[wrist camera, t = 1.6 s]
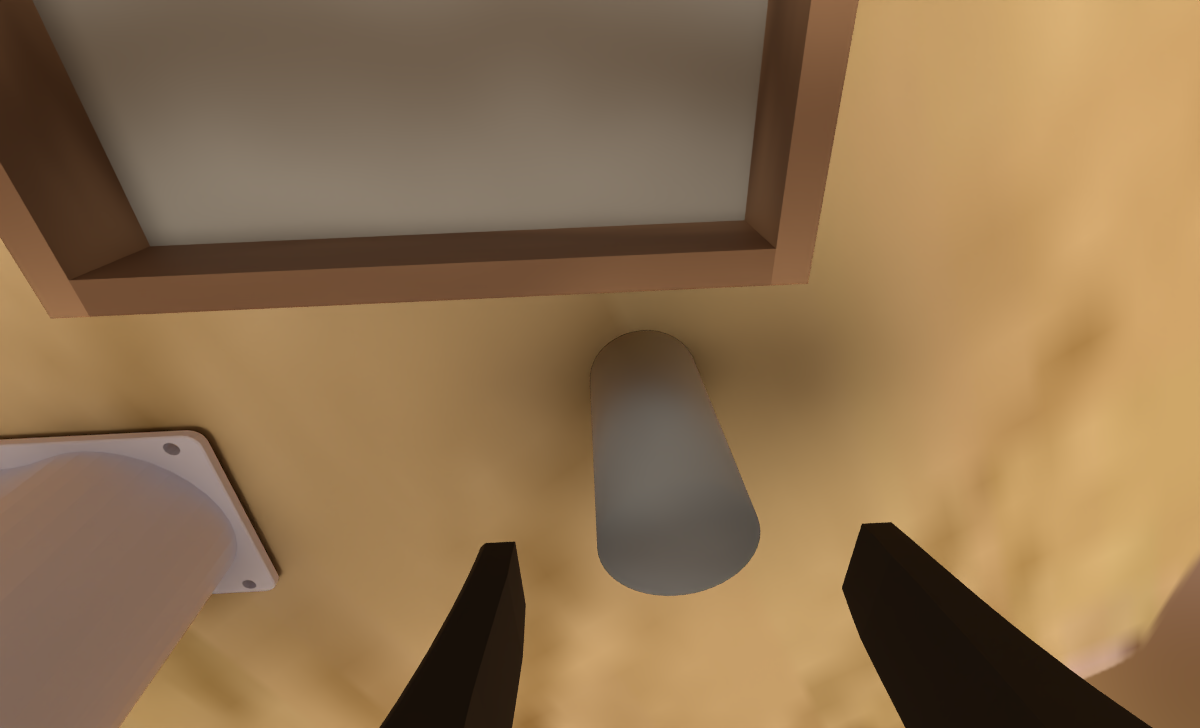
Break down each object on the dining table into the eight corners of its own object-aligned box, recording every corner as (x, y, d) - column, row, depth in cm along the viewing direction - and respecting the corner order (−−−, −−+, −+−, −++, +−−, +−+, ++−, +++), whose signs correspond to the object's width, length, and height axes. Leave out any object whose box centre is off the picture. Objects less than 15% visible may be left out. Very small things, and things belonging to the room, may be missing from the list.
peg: (592, 423, 18) (600, 600, 12) (587, 333, 16) (594, 486, 10) (692, 418, 18) (750, 591, 12) (699, 327, 17) (770, 477, 10)
